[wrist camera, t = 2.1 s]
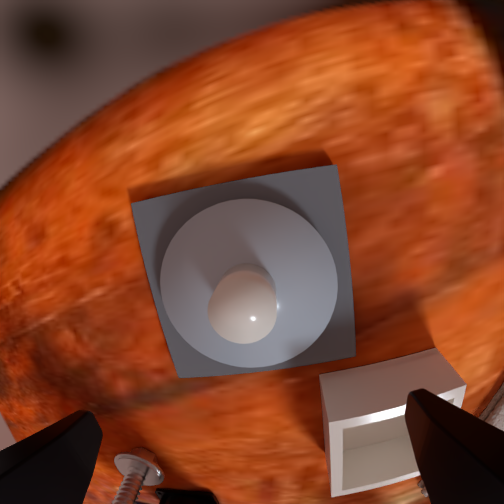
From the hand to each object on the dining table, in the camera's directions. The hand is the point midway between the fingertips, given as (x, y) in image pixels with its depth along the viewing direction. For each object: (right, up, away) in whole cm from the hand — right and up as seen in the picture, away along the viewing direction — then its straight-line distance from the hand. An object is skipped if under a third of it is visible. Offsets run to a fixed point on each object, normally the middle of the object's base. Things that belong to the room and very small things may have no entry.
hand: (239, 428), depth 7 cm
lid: (0, +3, +11) cm, 11 cm away
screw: (-10, -15, +17) cm, 24 cm away
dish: (+10, -7, +13) cm, 18 cm away
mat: (0, +3, +12) cm, 12 cm away
